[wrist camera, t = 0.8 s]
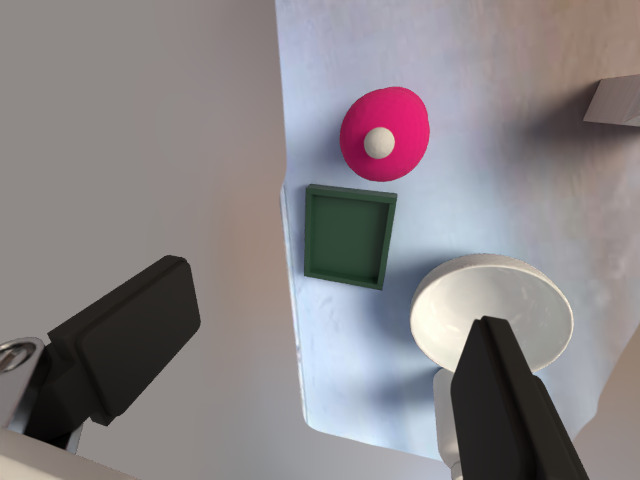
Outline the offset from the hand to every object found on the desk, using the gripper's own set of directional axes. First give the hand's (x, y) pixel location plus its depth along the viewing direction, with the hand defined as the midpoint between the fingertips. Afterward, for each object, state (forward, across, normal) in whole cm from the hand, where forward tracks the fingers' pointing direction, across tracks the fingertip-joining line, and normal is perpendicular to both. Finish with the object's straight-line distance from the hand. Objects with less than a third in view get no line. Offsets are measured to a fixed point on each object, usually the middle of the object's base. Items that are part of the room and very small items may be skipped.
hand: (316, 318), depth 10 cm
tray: (+30, +3, +11) cm, 32 cm away
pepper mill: (+30, -1, -4) cm, 31 cm away
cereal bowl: (+30, -15, +17) cm, 38 cm away
